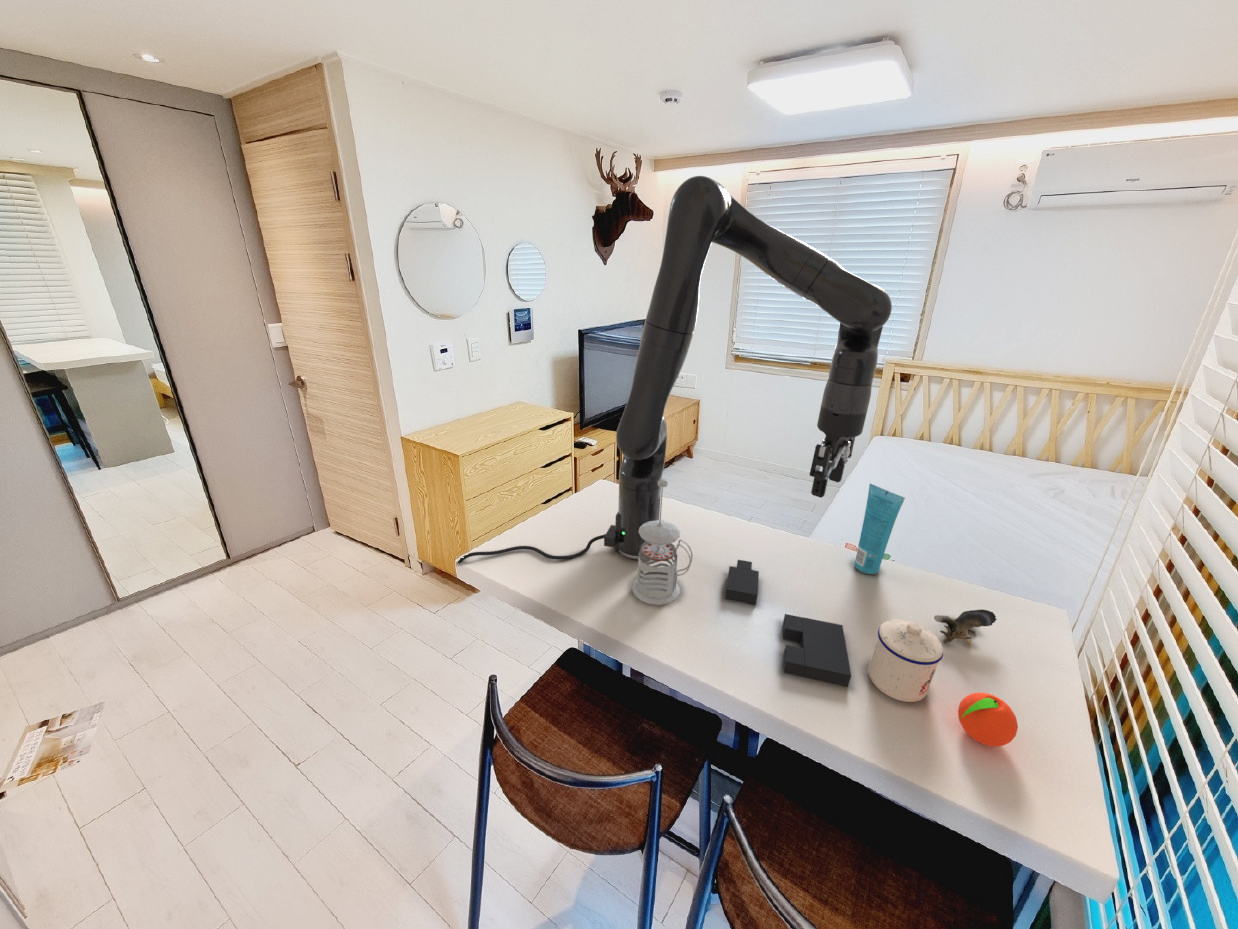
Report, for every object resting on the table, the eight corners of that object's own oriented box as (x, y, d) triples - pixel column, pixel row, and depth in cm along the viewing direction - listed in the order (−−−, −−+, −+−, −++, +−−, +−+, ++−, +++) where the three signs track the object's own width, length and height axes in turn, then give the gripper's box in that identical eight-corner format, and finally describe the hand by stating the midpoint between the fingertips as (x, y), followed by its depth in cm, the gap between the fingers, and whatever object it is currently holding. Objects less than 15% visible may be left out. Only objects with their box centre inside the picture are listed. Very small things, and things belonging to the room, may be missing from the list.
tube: (887, 572, 109) (910, 493, 101) (877, 580, 107) (899, 500, 99) (855, 556, 115) (874, 480, 107) (844, 564, 112) (863, 487, 104)
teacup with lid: (931, 713, 77) (953, 655, 72) (866, 692, 80) (883, 636, 75) (922, 658, 87) (942, 605, 82) (865, 642, 90) (880, 589, 85)
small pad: (755, 605, 99) (757, 595, 98) (725, 599, 100) (726, 589, 99) (757, 572, 108) (759, 563, 107) (729, 567, 110) (730, 558, 109)
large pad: (783, 672, 83) (785, 661, 82) (782, 624, 94) (784, 613, 93) (848, 687, 81) (851, 675, 80) (839, 635, 91) (842, 624, 90)
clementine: (971, 762, 70) (987, 727, 67) (934, 719, 76) (948, 684, 73) (1020, 754, 71) (1039, 719, 68) (980, 712, 77) (996, 678, 74)
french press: (640, 570, 108) (645, 464, 98) (693, 582, 105) (704, 474, 94) (625, 598, 100) (629, 485, 89) (682, 612, 96) (693, 497, 86)
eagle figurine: (980, 659, 85) (1005, 631, 89) (962, 621, 85) (989, 595, 89) (936, 652, 92) (962, 626, 96) (920, 617, 92) (946, 592, 96)
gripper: (837, 393, 95) (821, 470, 102) (807, 409, 85) (791, 494, 92) (879, 401, 90) (859, 482, 97) (852, 420, 81) (832, 508, 87)
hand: (826, 488), depth 94 cm, fingers open, 8 cm apart
